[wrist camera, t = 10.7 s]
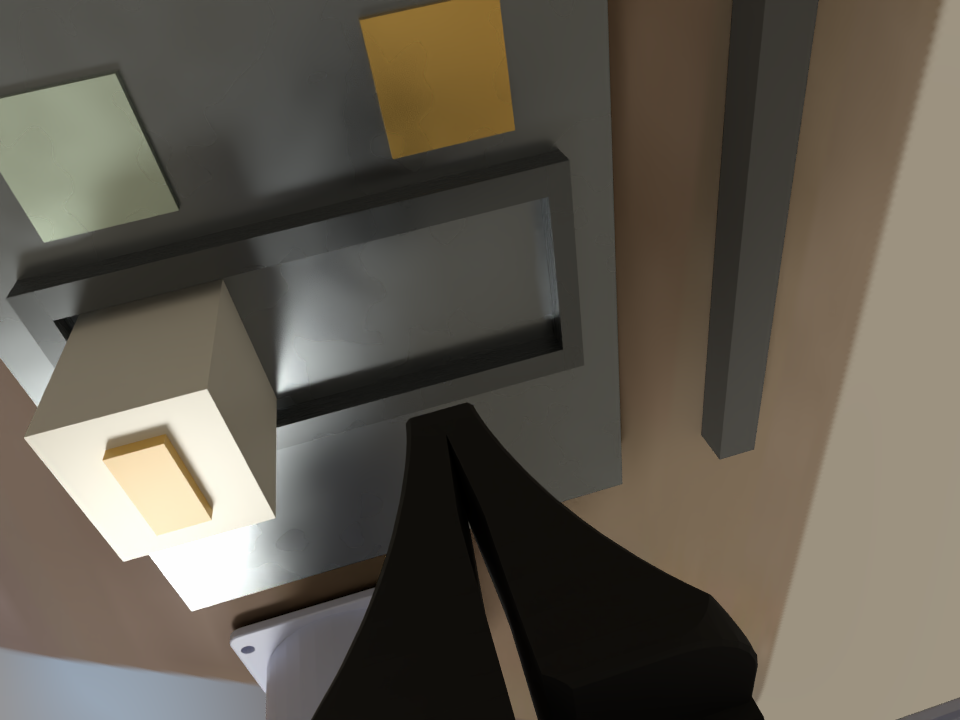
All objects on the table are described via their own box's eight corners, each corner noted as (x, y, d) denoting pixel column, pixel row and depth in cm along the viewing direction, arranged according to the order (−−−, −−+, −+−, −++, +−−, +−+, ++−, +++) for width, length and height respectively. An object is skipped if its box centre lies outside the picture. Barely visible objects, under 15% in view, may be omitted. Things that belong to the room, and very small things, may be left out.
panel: (609, 461, 26) (631, 499, 24) (195, 582, 24) (189, 631, 23) (578, -209, 14) (617, -219, 12) (-258, -50, 12) (-337, -39, 11)
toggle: (276, 398, 19) (275, 528, 15) (153, 431, 19) (121, 572, 15) (222, 278, 17) (205, 398, 13) (79, 314, 16) (18, 448, 13)
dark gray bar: (734, 425, 26) (754, 449, 25) (701, 434, 26) (719, 459, 25) (787, -38, 17) (822, -31, 16) (735, -27, 17) (767, -19, 15)
